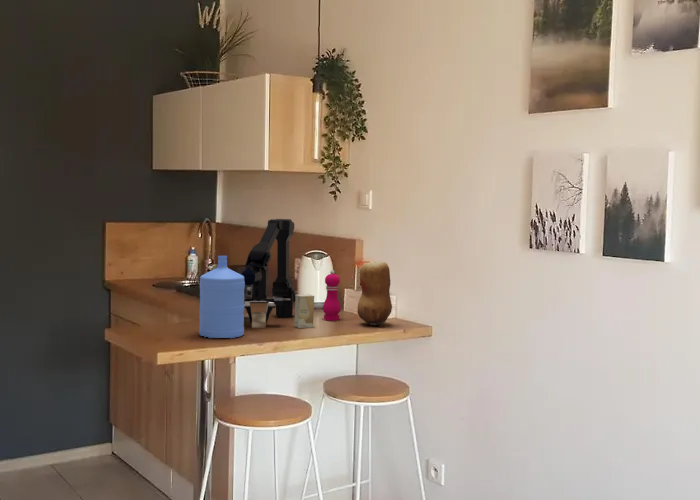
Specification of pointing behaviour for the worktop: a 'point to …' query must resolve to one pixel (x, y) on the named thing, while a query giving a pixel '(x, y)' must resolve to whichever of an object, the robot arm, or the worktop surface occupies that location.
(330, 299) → the pepper mill
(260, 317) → the oak cube
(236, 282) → the water jug
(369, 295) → the butternut squash
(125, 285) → the worktop surface
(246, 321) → the beige flat block
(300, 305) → the skincare box
